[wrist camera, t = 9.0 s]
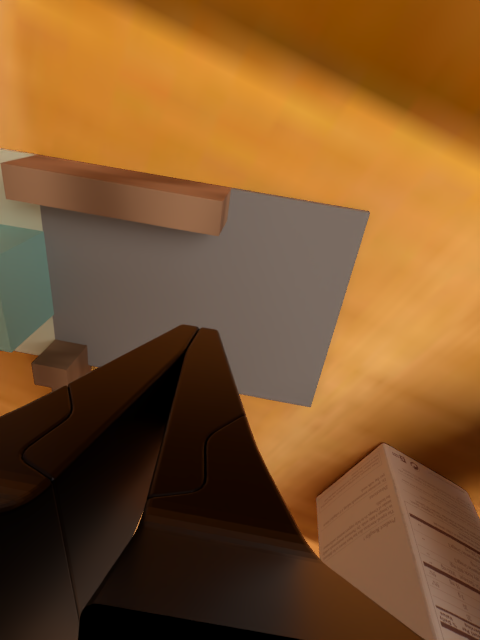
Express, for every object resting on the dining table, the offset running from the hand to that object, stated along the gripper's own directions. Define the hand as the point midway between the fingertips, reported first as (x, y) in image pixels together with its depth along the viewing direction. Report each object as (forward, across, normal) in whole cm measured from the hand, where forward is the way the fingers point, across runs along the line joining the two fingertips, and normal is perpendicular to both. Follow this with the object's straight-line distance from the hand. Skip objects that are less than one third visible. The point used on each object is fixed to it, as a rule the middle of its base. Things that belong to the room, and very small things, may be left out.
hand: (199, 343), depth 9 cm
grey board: (+12, +5, +5) cm, 13 cm away
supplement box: (+12, -12, +18) cm, 25 cm away
